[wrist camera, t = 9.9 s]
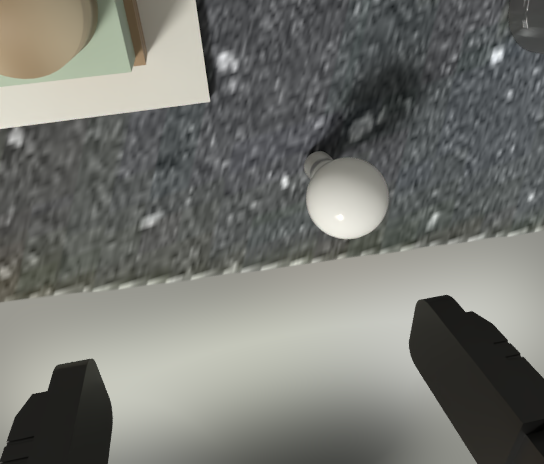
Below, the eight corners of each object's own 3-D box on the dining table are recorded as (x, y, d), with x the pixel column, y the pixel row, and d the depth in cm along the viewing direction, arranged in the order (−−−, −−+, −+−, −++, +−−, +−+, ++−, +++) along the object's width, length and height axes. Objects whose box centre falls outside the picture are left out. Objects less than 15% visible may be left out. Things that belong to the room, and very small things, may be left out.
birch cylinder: (80, -67, 19) (58, -81, 14) (110, 53, 21) (98, 71, 17) (-43, -61, 18) (-105, -73, 14) (3, 64, 20) (-36, 85, 16)
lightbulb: (282, 131, 37) (324, 181, 28) (350, 126, 38) (411, 172, 29) (282, 196, 40) (319, 260, 31) (344, 189, 42) (397, 248, 32)
